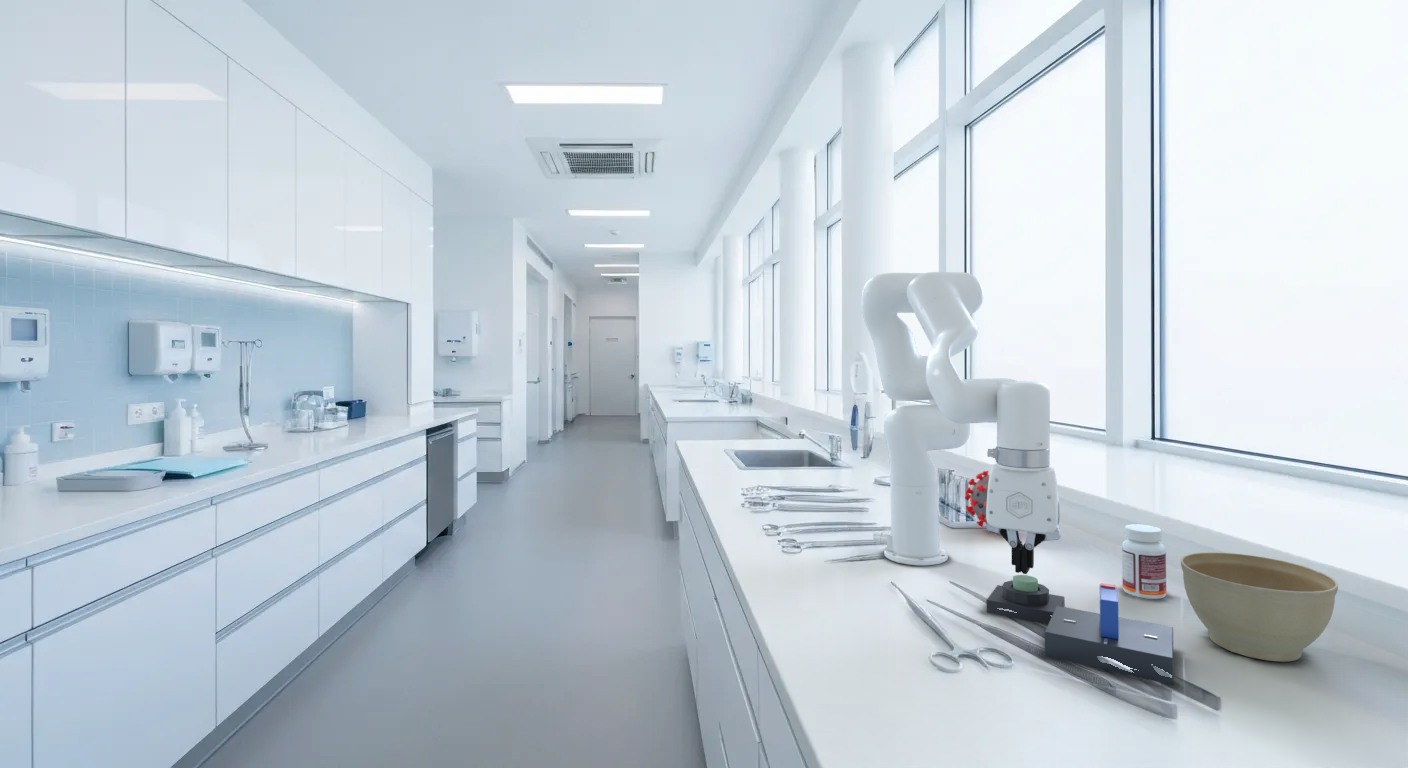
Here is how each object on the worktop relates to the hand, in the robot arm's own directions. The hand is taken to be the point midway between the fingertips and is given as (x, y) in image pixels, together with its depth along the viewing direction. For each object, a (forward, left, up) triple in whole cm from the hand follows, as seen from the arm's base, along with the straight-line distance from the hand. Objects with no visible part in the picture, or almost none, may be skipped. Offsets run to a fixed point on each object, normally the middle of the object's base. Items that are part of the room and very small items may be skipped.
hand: (1022, 570), depth 101 cm
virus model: (-14, +48, -7) cm, 50 cm away
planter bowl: (+28, +3, -7) cm, 29 cm away
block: (0, 0, -7) cm, 7 cm away
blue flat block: (+12, -10, -3) cm, 16 cm away
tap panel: (+12, -10, -7) cm, 17 cm away
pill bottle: (+15, +19, -7) cm, 25 cm away
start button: (0, 0, -3) cm, 3 cm away
